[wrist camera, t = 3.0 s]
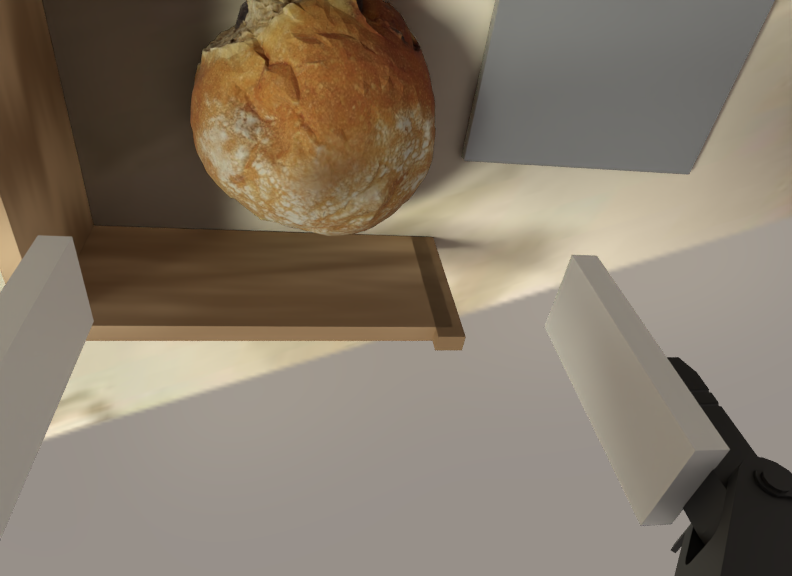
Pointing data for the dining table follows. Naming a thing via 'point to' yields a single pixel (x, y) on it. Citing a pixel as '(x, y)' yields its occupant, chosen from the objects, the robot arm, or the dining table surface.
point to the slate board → (607, 81)
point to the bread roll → (315, 113)
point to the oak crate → (196, 243)
